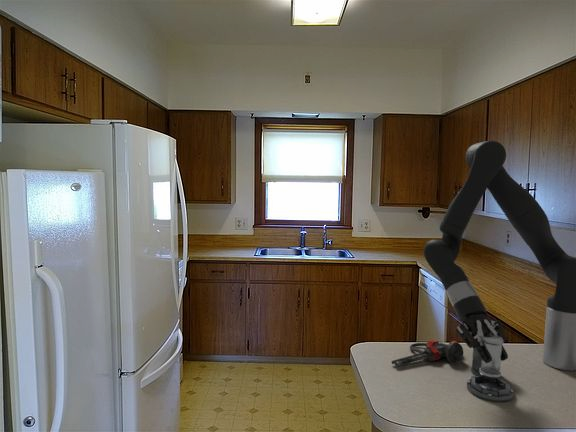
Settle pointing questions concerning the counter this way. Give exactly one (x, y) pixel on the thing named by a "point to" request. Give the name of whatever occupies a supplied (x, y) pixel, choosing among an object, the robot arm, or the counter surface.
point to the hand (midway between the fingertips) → (496, 360)
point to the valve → (433, 352)
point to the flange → (490, 388)
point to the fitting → (492, 356)
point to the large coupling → (476, 362)
